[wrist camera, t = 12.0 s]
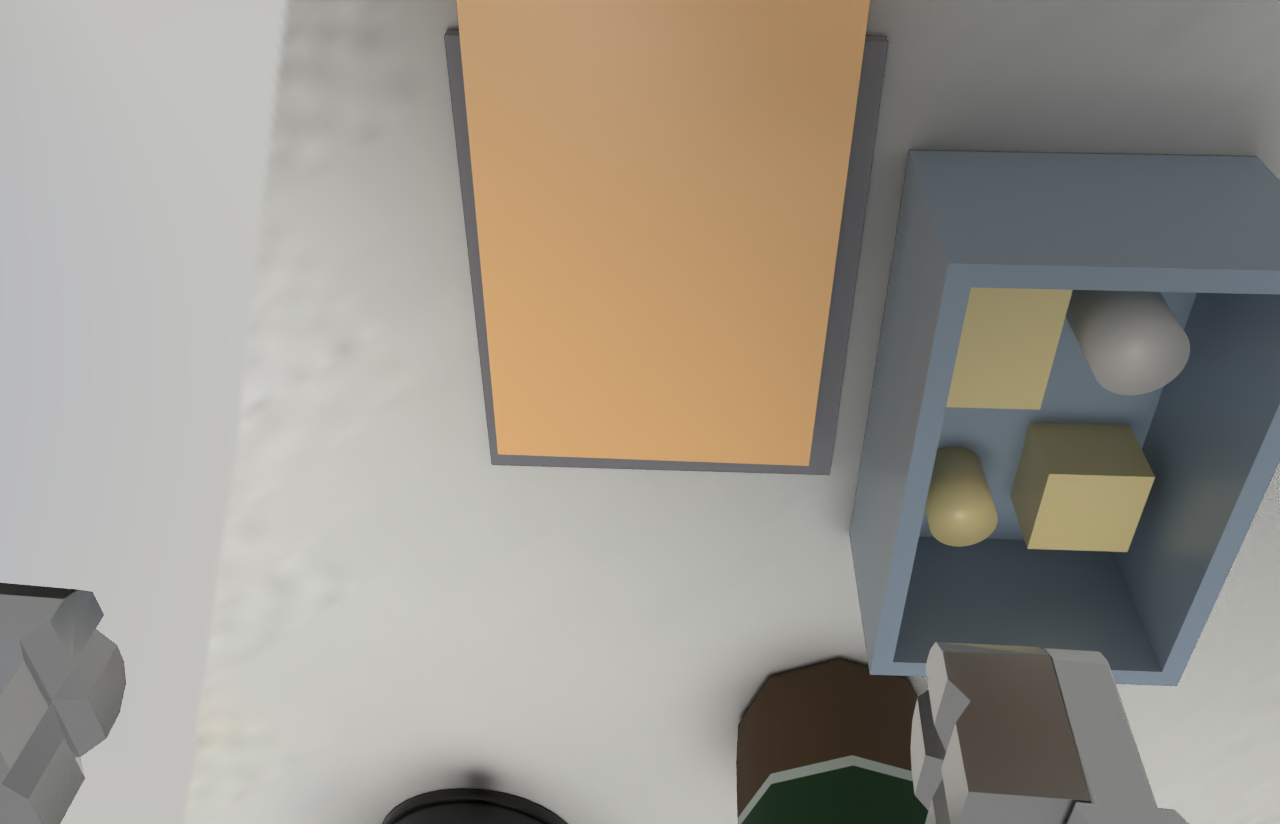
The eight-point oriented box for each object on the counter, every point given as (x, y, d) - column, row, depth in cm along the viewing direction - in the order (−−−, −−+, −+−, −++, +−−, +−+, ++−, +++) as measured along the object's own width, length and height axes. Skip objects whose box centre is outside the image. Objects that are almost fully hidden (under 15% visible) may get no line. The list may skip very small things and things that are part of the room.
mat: (886, 36, 27) (888, 41, 27) (829, 467, 36) (830, 475, 35) (447, 30, 28) (444, 35, 27) (493, 457, 36) (491, 464, 36)
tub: (1256, 156, 29) (1365, 272, 24) (1116, 543, 37) (1177, 686, 32) (909, 150, 29) (948, 263, 24) (849, 535, 38) (869, 674, 33)
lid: (898, -283, 23) (910, -273, 21) (805, 441, 35) (810, 478, 33) (441, -289, 23) (423, -280, 22) (503, 430, 35) (494, 466, 34)
